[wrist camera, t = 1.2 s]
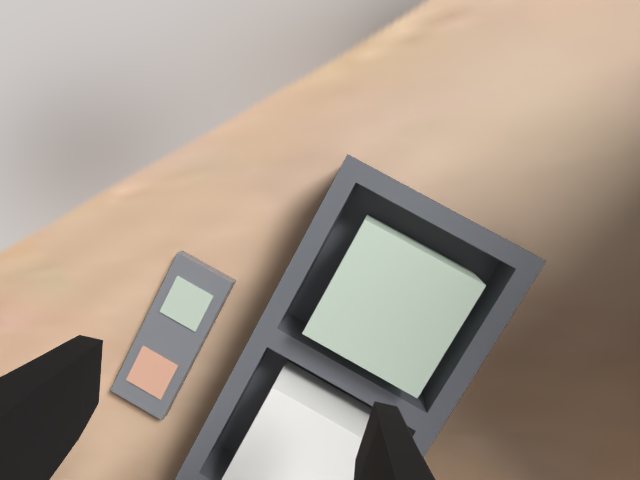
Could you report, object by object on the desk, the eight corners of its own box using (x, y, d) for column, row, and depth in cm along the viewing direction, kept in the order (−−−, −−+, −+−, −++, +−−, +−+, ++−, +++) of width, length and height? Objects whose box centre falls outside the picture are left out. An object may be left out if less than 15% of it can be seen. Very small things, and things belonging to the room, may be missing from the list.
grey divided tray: (521, 248, 23) (546, 261, 19) (281, 638, 27) (266, 706, 23) (352, 157, 23) (347, 154, 20) (141, 554, 27) (105, 609, 24)
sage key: (471, 270, 21) (486, 285, 18) (412, 369, 22) (417, 398, 19) (367, 213, 22) (364, 219, 19) (312, 313, 22) (302, 333, 19)
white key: (384, 415, 23) (385, 451, 20) (331, 503, 23) (324, 550, 20) (286, 360, 23) (272, 387, 20) (237, 449, 24) (216, 488, 21)
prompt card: (235, 280, 25) (231, 283, 24) (166, 414, 26) (160, 421, 25) (182, 250, 25) (176, 252, 24) (116, 385, 26) (109, 391, 25)
